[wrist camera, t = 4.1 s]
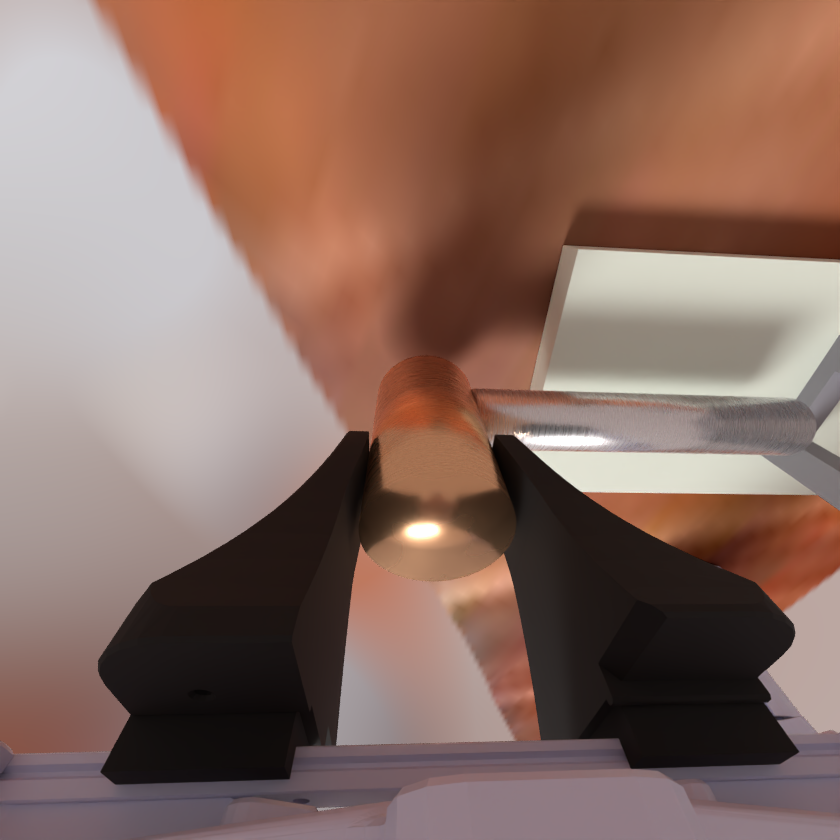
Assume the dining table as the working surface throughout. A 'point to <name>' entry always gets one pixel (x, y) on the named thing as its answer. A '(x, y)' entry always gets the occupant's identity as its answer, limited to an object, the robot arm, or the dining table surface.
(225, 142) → the dining table surface
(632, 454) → the eye stand
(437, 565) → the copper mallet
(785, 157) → the dining table surface
